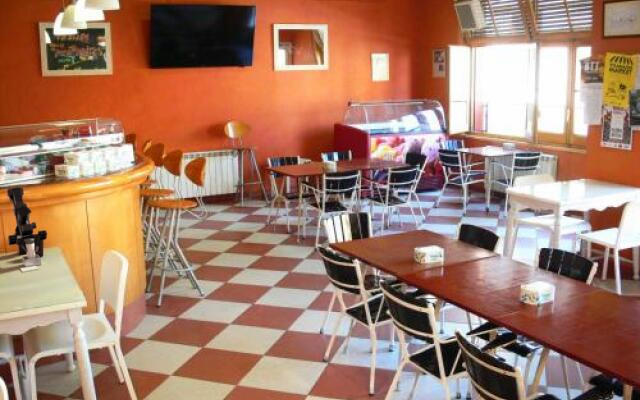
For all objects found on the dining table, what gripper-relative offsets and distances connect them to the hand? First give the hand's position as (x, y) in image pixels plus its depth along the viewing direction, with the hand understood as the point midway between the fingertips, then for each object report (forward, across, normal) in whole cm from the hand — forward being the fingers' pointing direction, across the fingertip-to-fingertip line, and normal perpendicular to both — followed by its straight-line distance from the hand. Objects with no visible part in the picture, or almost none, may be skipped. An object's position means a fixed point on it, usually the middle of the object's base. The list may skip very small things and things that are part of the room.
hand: (31, 250), depth 345 cm
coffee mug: (-6, +4, +18) cm, 19 cm away
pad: (+10, -3, +1) cm, 11 cm away
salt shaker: (+4, 0, +6) cm, 7 cm away
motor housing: (+5, 0, +6) cm, 8 cm away
